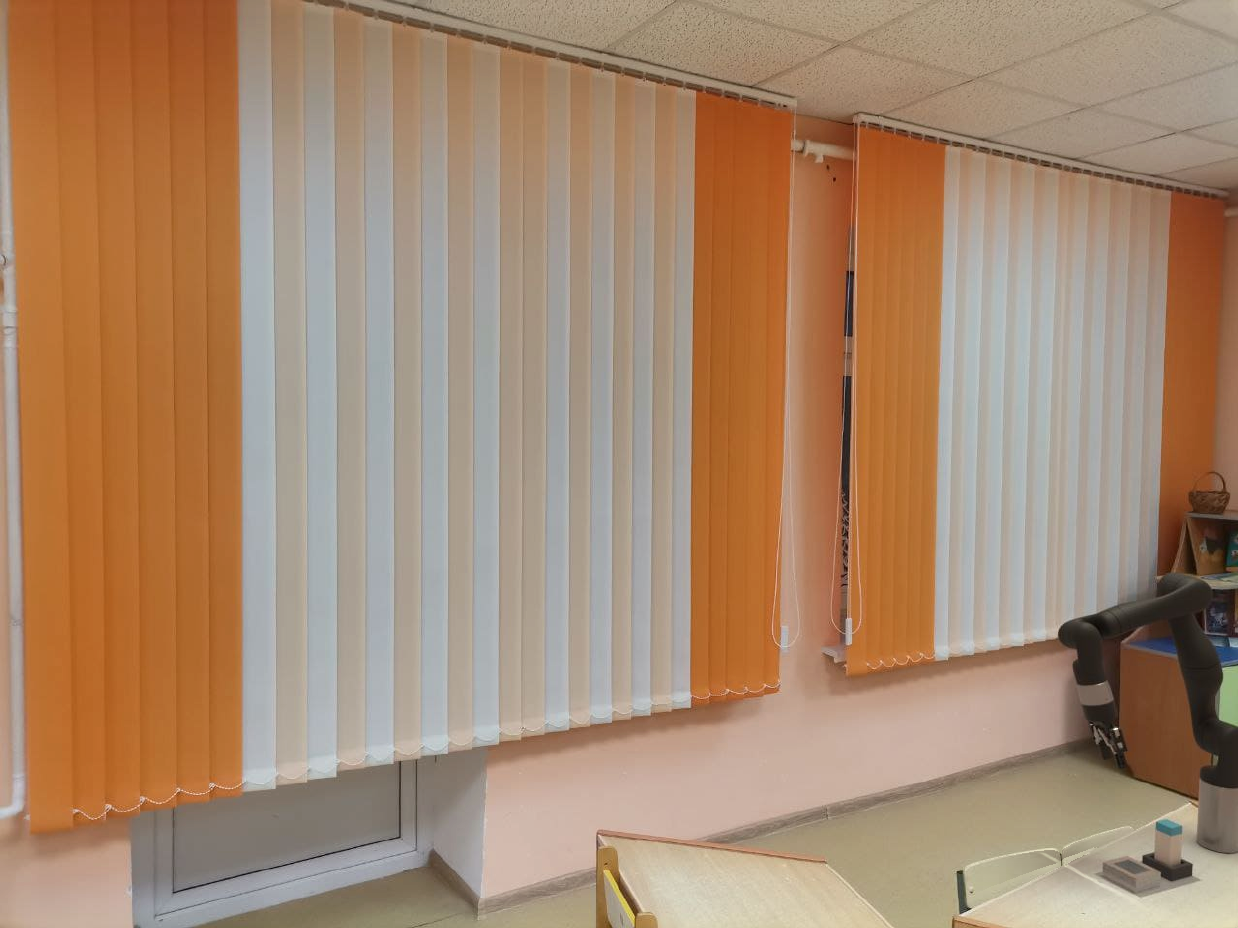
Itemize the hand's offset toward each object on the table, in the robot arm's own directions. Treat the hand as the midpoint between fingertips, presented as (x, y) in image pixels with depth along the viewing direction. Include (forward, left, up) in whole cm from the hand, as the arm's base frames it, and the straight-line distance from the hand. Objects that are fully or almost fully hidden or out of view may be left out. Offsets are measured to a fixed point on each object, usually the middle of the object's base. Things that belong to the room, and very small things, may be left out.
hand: (1114, 763), depth 222 cm
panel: (-1, +9, -26) cm, 27 cm away
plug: (-8, +9, -25) cm, 28 cm away
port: (+5, +9, -26) cm, 28 cm away
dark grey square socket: (-8, +9, -26) cm, 29 cm away
